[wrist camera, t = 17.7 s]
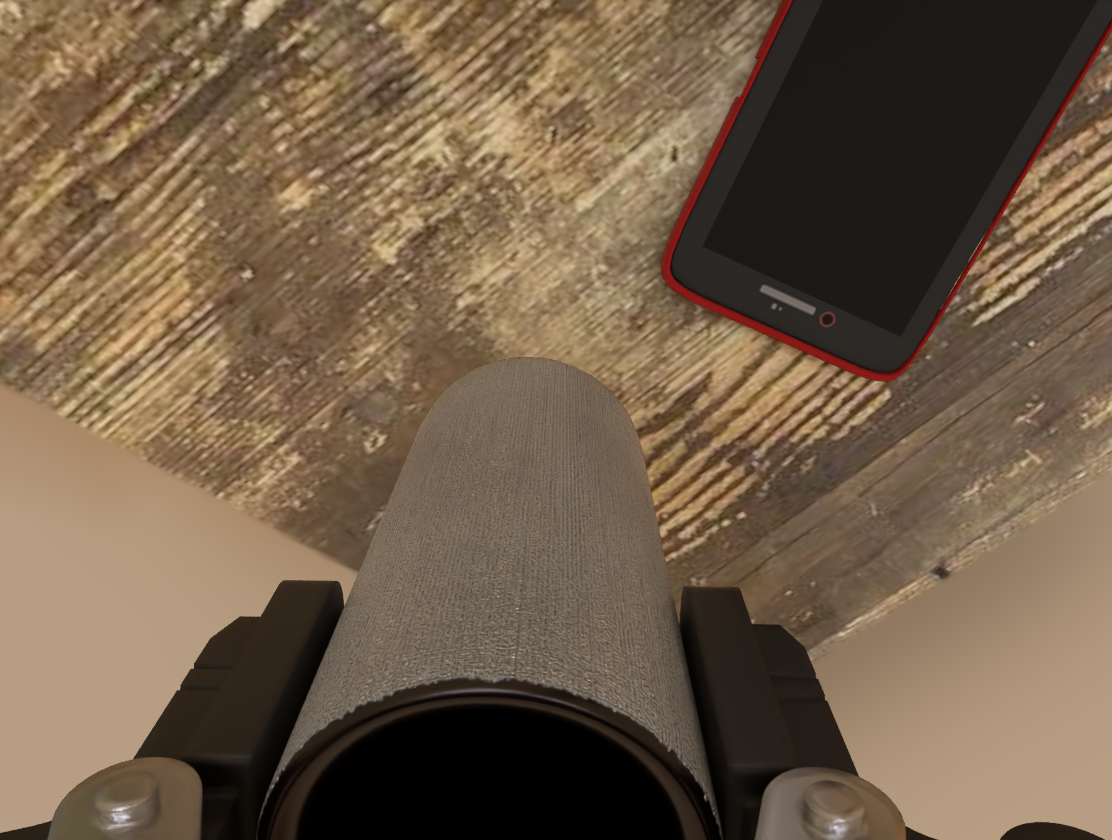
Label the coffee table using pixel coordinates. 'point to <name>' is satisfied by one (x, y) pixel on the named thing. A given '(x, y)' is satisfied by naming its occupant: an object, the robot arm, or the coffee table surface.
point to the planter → (506, 640)
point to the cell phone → (874, 166)
